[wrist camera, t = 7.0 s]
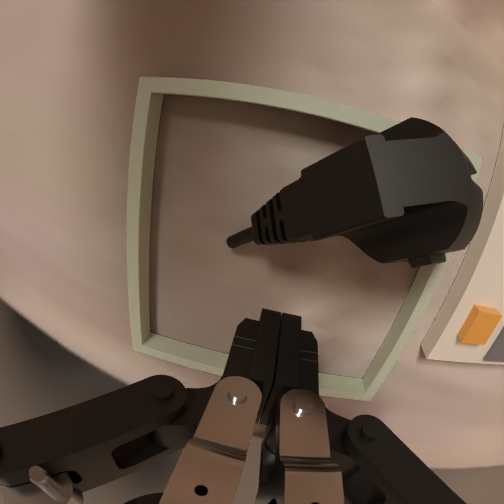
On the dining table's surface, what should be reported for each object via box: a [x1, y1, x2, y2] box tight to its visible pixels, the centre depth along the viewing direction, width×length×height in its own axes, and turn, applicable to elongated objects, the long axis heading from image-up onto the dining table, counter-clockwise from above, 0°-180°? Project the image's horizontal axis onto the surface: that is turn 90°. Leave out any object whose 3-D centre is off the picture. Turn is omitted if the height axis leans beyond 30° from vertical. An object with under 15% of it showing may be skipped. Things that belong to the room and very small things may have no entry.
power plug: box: [227, 117, 483, 268], centre depth 13 cm, size 6×8×12 cm
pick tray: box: [126, 77, 483, 401], centre depth 16 cm, size 18×18×2 cm
